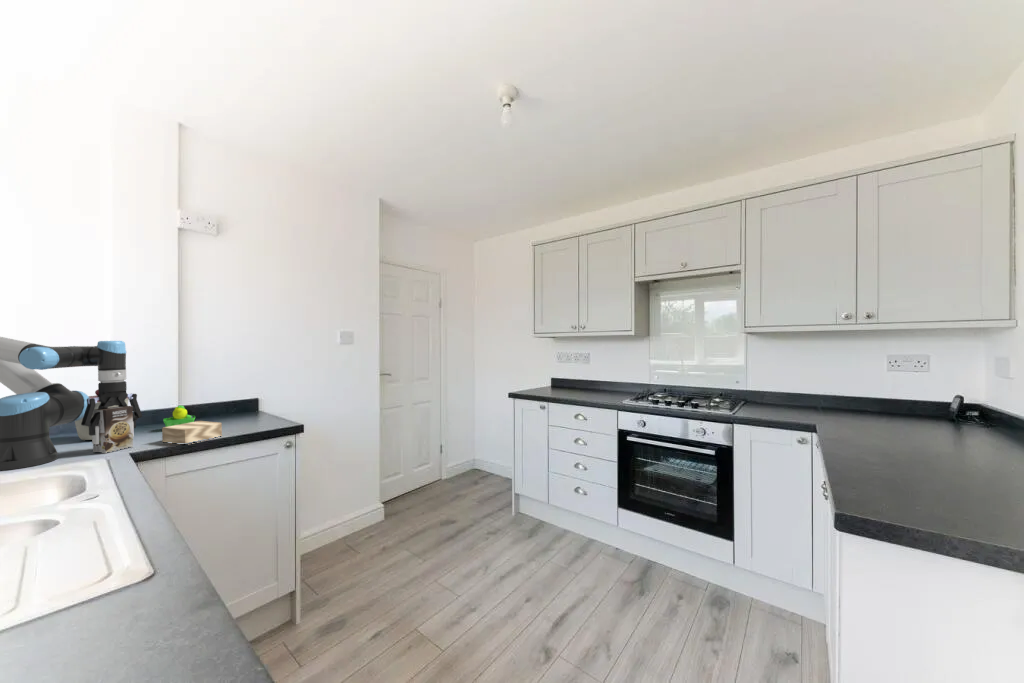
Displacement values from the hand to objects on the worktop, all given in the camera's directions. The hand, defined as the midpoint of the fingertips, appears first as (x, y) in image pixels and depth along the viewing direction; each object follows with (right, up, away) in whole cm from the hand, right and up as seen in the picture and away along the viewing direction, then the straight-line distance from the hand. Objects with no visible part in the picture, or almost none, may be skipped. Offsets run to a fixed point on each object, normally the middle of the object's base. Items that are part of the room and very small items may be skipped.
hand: (113, 440), depth 150 cm
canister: (-25, -4, +20) cm, 32 cm away
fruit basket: (-5, -4, +36) cm, 36 cm away
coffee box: (0, -4, 0) cm, 4 cm away
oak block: (+18, -3, +15) cm, 24 cm away
